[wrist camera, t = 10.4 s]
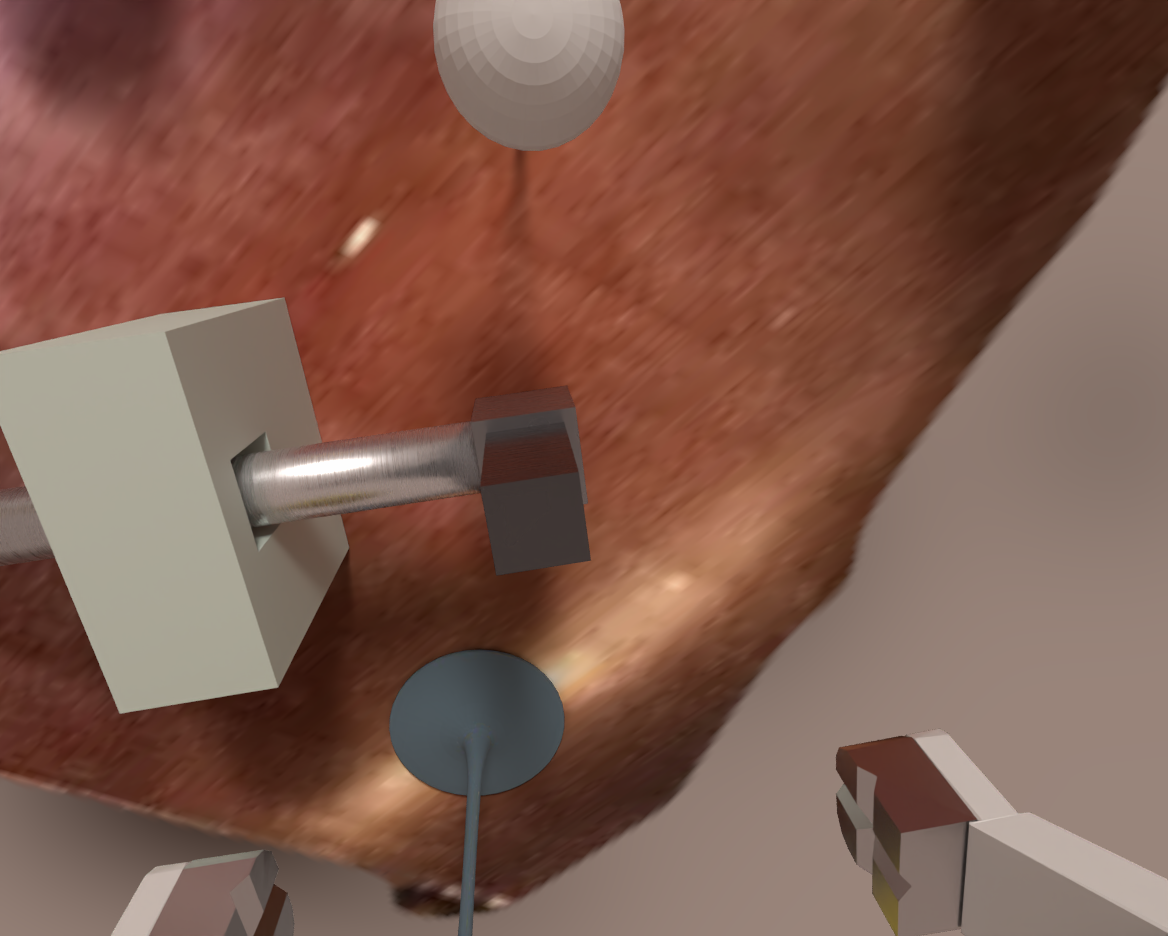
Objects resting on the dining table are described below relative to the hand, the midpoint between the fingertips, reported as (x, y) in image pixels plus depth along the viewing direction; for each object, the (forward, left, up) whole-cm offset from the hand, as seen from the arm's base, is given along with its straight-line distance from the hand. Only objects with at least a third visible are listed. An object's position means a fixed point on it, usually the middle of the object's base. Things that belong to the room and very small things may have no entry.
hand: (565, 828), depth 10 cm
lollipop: (-2, -14, -29) cm, 32 cm away
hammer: (+11, 0, -22) cm, 24 cm away
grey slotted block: (+14, 0, -29) cm, 32 cm away
